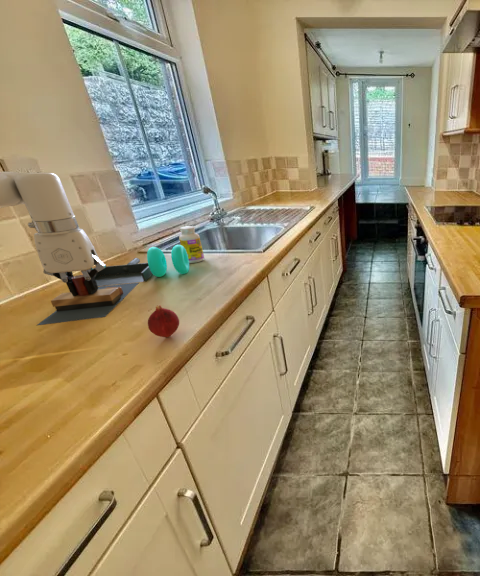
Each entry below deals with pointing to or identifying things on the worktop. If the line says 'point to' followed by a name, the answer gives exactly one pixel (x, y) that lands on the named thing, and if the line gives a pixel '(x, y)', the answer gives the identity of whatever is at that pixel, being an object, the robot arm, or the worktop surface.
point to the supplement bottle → (191, 244)
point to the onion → (163, 322)
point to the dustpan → (123, 273)
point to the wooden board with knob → (85, 297)
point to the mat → (88, 309)
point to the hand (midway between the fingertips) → (85, 292)
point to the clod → (118, 288)
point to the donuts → (160, 265)
